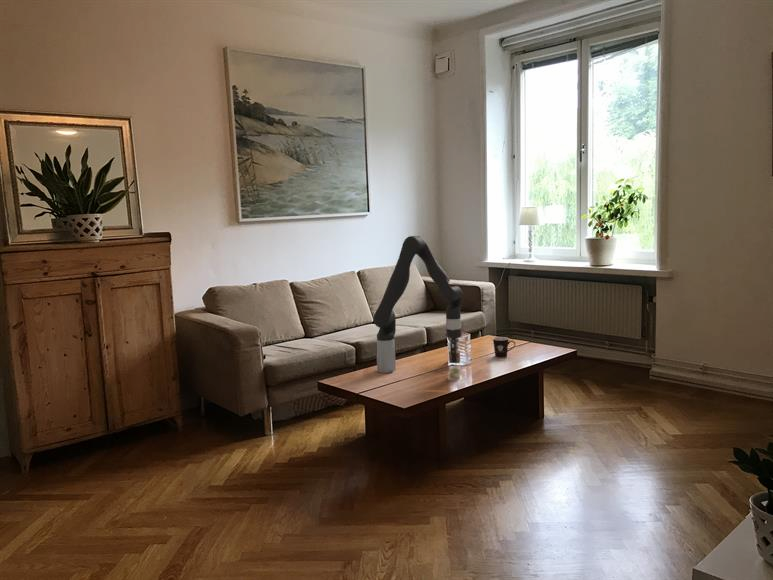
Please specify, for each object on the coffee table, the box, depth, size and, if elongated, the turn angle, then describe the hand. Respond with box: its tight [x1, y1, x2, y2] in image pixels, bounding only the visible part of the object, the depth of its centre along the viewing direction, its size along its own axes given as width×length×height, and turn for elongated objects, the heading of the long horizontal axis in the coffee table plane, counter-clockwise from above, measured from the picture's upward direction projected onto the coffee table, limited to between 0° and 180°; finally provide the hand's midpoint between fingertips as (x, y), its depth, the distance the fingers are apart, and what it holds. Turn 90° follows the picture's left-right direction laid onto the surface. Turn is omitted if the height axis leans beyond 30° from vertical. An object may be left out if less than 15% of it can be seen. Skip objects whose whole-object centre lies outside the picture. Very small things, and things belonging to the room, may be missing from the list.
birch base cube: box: [448, 365, 461, 379], centre depth 311 cm, size 5×5×5 cm
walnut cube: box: [448, 350, 461, 364], centre depth 310 cm, size 5×5×5 cm
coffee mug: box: [492, 336, 516, 358], centre depth 352 cm, size 12×9×10 cm
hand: (454, 360), depth 311 cm, fingers closed on walnut cube, 5 cm apart
